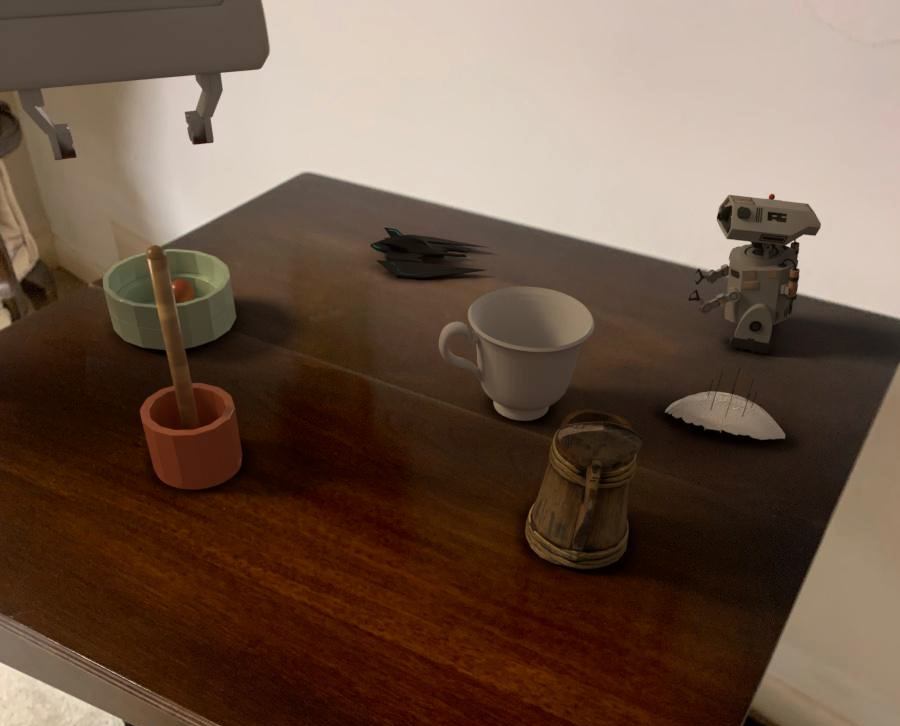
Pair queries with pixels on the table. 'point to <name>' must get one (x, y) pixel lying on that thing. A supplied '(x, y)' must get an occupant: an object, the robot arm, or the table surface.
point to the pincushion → (726, 414)
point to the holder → (193, 438)
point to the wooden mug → (585, 492)
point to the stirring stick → (172, 335)
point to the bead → (183, 291)
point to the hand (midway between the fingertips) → (134, 148)
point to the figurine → (759, 265)
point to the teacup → (522, 347)
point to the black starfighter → (418, 255)
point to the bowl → (197, 317)
